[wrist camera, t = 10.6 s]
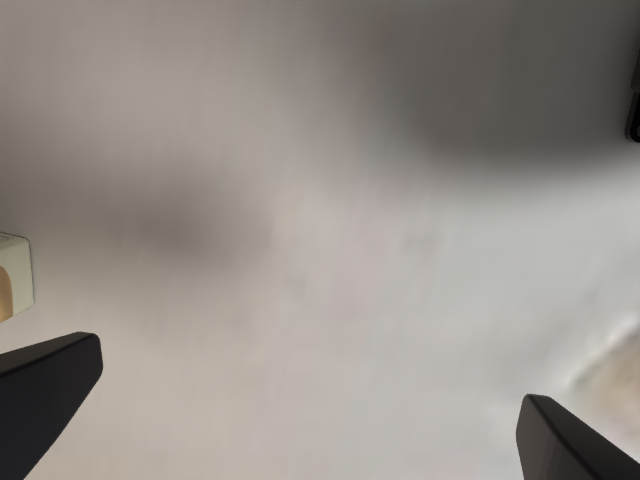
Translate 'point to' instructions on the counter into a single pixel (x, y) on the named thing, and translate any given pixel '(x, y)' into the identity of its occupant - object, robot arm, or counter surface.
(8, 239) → the skincare box
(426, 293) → the counter surface
